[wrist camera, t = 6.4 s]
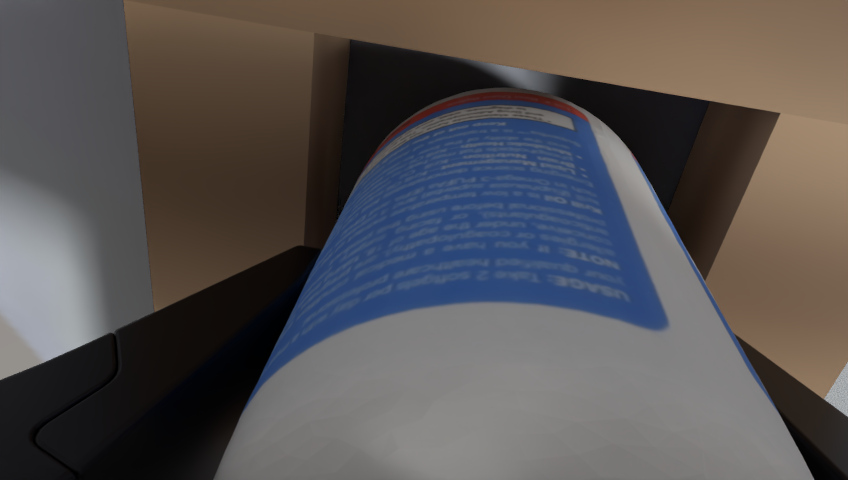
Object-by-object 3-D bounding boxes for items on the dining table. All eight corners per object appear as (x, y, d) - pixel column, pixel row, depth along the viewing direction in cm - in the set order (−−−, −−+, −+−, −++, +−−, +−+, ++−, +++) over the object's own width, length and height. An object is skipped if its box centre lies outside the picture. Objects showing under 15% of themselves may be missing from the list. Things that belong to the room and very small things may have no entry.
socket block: (688, 463, 15) (721, 558, 13) (215, 373, 15) (168, 451, 13) (977, -83, 9) (1131, -81, 7) (193, -209, 9) (98, -246, 7)
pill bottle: (306, 247, 12) (-173, 1066, 3) (466, 13, 10) (167, 840, 1) (524, 383, 13) (564, 1273, 4) (717, 203, 11) (1612, 1408, 2)
